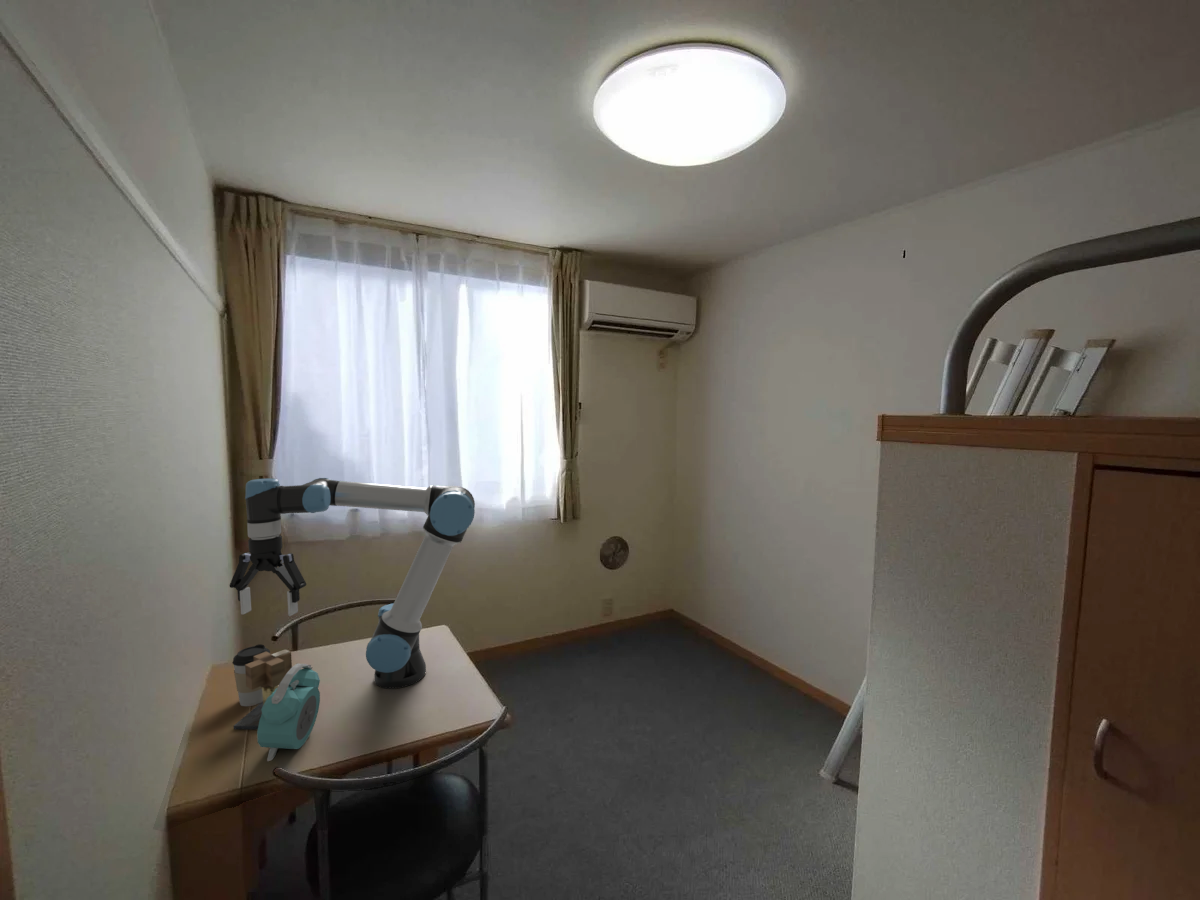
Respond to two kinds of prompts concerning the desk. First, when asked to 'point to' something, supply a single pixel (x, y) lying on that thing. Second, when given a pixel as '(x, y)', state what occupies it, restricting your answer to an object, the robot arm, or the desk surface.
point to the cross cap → (268, 669)
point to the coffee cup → (239, 661)
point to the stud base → (254, 713)
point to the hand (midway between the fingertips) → (269, 613)
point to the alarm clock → (290, 711)
